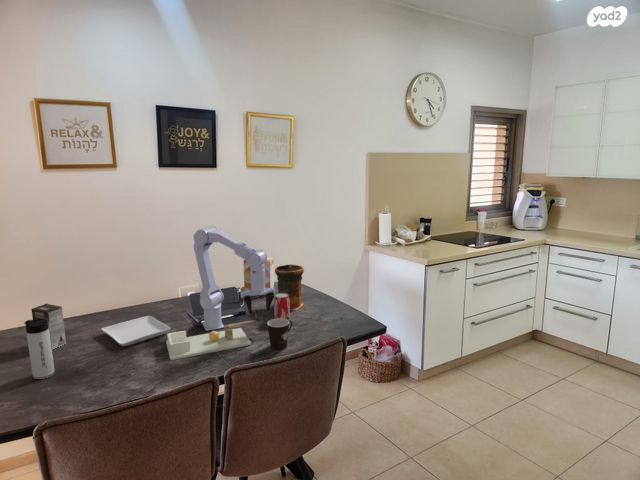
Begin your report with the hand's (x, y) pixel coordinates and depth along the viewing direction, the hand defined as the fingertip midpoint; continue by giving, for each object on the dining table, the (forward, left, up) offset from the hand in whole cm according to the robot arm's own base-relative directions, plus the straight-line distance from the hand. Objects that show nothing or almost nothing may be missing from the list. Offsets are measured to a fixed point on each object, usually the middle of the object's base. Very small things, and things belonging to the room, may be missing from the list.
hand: (259, 311), depth 173 cm
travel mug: (+1, -77, -10) cm, 78 cm away
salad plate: (-22, -47, -11) cm, 53 cm away
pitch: (0, -21, -10) cm, 24 cm away
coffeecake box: (-53, +16, -10) cm, 56 cm away
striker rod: (0, -6, -9) cm, 11 cm away
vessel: (-27, +24, -10) cm, 38 cm away
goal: (0, -33, -9) cm, 34 cm away
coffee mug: (+14, +5, -10) cm, 18 cm away
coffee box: (-25, -78, -10) cm, 83 cm away
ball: (0, -19, -7) cm, 20 cm away
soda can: (-11, +14, -10) cm, 21 cm away
